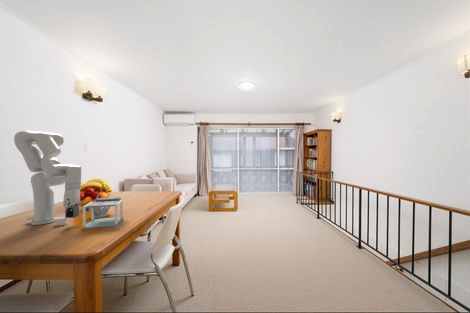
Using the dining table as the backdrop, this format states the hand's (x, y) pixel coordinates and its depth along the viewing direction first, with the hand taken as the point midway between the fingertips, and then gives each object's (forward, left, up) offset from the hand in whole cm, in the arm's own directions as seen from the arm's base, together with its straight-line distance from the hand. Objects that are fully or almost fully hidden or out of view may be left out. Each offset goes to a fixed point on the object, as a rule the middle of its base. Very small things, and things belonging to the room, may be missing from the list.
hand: (72, 215), depth 124 cm
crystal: (+9, +17, -6) cm, 21 cm away
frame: (+17, -1, -6) cm, 19 cm away
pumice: (-8, +4, -6) cm, 11 cm away
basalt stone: (0, 0, -1) cm, 1 cm away
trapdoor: (+17, +2, +3) cm, 18 cm away
